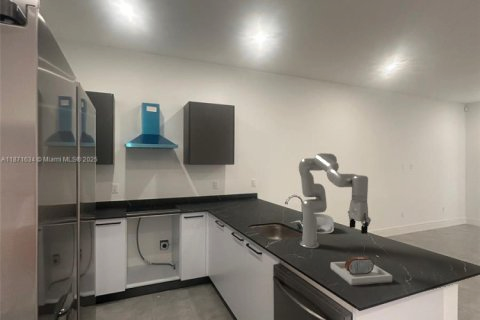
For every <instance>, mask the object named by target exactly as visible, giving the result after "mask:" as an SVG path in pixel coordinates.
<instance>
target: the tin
mask: <svg viewBox="0 0 480 320" xmlns="http://www.w3.org/2000/svg"><path fill="white" fill-rule="evenodd" d="M345 262H346V263H345V268H346V270H347V271H348V272H350V273H351V274H368V273H370V272H371V271H372V270H373V267H374V265H375V263H374V261H373V259H371V258H370V257H369V256H350V257H348V258H347V259H346V260H345Z"/></svg>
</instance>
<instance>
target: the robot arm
mask: <svg viewBox="0 0 480 320" xmlns="http://www.w3.org/2000/svg"><path fill="white" fill-rule="evenodd" d="M339 167H340V166H339V163H338V160H337V156H336V155H335V154H334V153H322V152H320V153H318V154H315V156H314V158H313V157H312V158H311V157H308V158H307V157H306V158H303V159H301V160H300V161H299V164H298V171H299V175H300V180H301V190H302V195H303V196H304V198H309V199H305V200H303V201H302V202H301V211H302V236H301V238H302V240H301V241H300V243H299V244H300V246H302V247H303V248H306V249H318V248H320V243H318V242H317V241H318V233H317V232H318V229H317V218H316V216H315V214H323V213H325V212H326V211H327V207H328V206H327V196H326V189H325V187H324V185H323V184H321V183H315V180H314V175H313V174H312V173H311V171H315V172H316V171H324V172H325V173H326V177H327V179H328V181H329V182H331V183H332V184H333V185H334V186H335V187H338V188H351V200H350V202H349V209H348V211H347V214H348V215H347V216H348V218H349V219H348V220H349V228H350V229H355V228H356V222H360V223H361V226H360V233H361V234H363V235H365V234H368V227H369V225H370V223H371V222H372V218H370V216H369V206H368V194H369V193H368V192H369V177H368V176H367V175H360V174H359V175H358V174H356V173H340V172H338V170H339ZM310 198H311V199H310ZM312 198H313V199H312ZM314 198H315V199H314Z"/></svg>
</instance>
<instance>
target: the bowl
mask: <svg viewBox="0 0 480 320" xmlns="http://www.w3.org/2000/svg"><path fill="white" fill-rule="evenodd" d="M314 214H315V216H316V218H317V234H330V233H332V232H334V230H335V229H334V226H335V225H334V219H333V217H332V216H330V215H328V214H323V213H314ZM321 230H324V232H319V231H321Z"/></svg>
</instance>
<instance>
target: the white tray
mask: <svg viewBox="0 0 480 320" xmlns="http://www.w3.org/2000/svg"><path fill="white" fill-rule="evenodd" d="M345 263H346V261H333V262H330V269H331V270H332V272H334V273H335V274H336V275H338V276H339V277H341V278H342V279H343V281H346V282H347V283H348V284H349V285H350V286H361V285H373V284H385V283H386V284H387V283H393V275H392V274H391V273H389V272H387V271H385V270H383V268H380V267H379V266H378V265H376V264H374V267H373V270H372V271H371V272H370V273H368V274H351V273H350V272H348V271H347V270H346V268H345Z"/></svg>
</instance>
